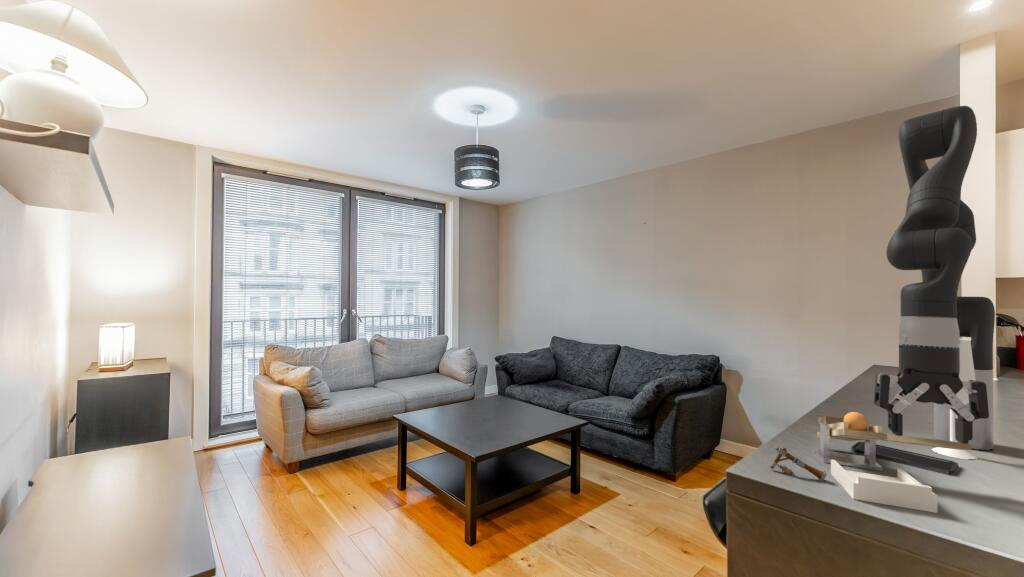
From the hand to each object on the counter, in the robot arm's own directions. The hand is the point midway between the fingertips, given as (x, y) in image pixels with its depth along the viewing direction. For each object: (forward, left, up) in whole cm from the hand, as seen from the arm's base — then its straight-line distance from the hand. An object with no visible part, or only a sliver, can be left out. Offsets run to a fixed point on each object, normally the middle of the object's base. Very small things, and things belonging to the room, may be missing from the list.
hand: (928, 438), depth 72 cm
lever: (-7, -4, -3) cm, 8 cm away
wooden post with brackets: (+6, -20, -8) cm, 22 cm away
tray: (+7, -9, -8) cm, 14 cm away
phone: (-14, +2, -8) cm, 16 cm away
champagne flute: (-23, +14, -8) cm, 28 cm away
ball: (-3, -9, +1) cm, 10 cm away
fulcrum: (-7, -9, -8) cm, 14 cm away
